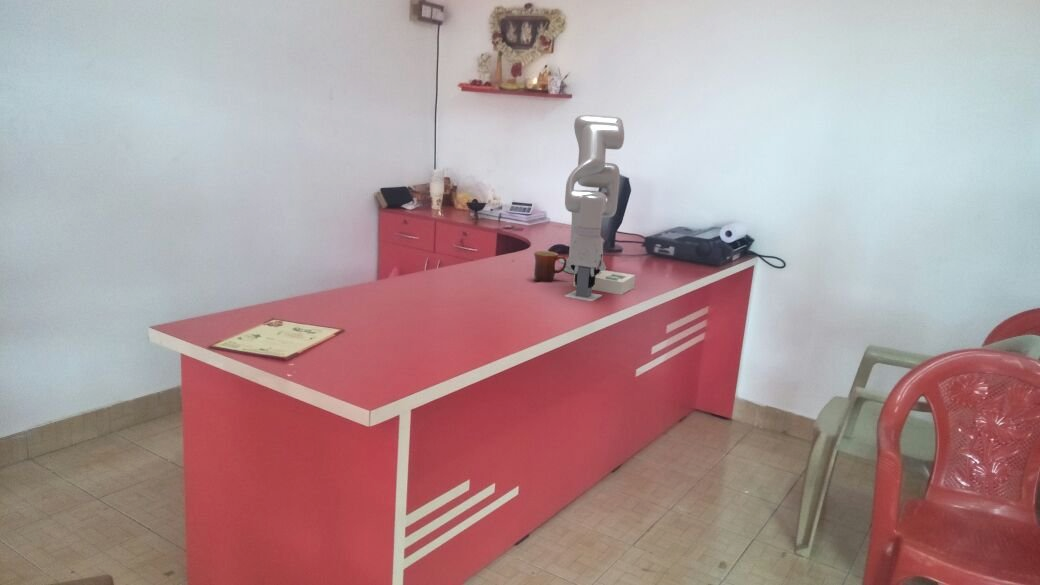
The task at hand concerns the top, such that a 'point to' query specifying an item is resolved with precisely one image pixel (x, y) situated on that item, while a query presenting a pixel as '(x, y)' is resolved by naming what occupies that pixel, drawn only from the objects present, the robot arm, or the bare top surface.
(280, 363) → the top surface
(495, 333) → the top surface
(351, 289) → the top surface
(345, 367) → the top surface
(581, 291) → the dark grey rectangular prism
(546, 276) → the mug
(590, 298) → the mat
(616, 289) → the socket block
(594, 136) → the robot arm
